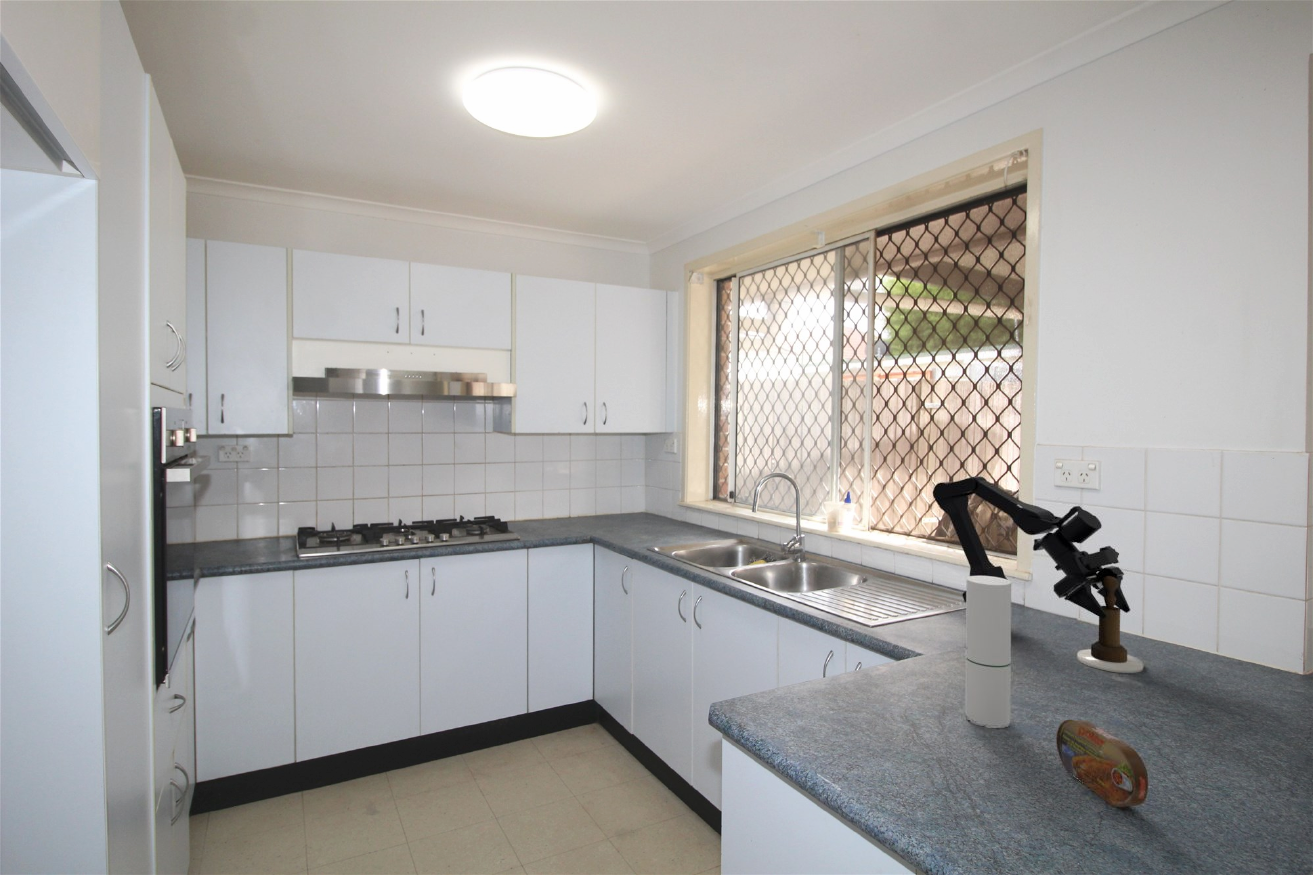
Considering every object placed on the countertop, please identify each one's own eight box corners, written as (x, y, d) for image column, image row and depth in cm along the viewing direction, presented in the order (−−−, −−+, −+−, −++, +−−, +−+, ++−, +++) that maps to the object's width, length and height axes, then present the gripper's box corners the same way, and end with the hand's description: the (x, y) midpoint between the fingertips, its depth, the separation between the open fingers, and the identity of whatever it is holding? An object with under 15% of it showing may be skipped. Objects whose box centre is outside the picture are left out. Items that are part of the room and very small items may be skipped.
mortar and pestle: (1125, 656, 148) (1126, 575, 148) (1129, 665, 143) (1130, 581, 142) (1089, 651, 152) (1091, 572, 151) (1091, 659, 146) (1093, 577, 146)
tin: (1054, 763, 104) (1054, 709, 104) (1073, 762, 104) (1073, 708, 104) (1130, 820, 89) (1131, 758, 89) (1153, 819, 89) (1153, 757, 89)
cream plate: (1084, 668, 143) (1084, 663, 143) (1072, 650, 155) (1072, 646, 155) (1151, 676, 139) (1151, 671, 139) (1133, 657, 150) (1133, 653, 150)
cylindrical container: (1006, 714, 121) (1007, 577, 120) (1013, 731, 114) (1014, 586, 114) (963, 708, 123) (964, 574, 123) (967, 725, 117) (968, 583, 116)
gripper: (1068, 538, 145) (1122, 600, 136) (1115, 531, 154) (1169, 589, 145) (1032, 567, 152) (1081, 628, 143) (1079, 559, 161) (1129, 615, 152)
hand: (1117, 614), depth 145 cm, fingers open, 9 cm apart
